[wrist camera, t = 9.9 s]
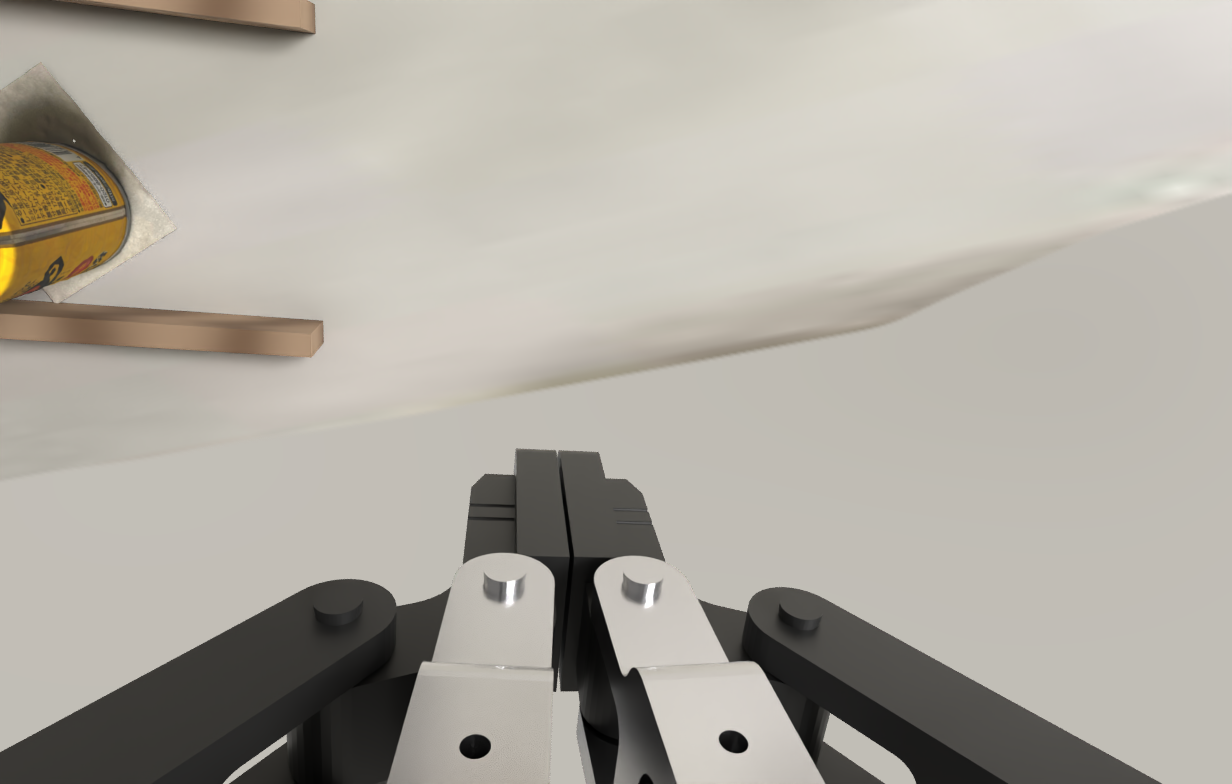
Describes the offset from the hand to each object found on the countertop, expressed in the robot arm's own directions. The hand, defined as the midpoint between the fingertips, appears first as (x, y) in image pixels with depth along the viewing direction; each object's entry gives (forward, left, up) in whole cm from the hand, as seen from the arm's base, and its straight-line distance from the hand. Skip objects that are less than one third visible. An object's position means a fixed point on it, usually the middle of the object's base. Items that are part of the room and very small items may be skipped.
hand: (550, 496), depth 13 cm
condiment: (-12, -19, -27) cm, 35 cm away
